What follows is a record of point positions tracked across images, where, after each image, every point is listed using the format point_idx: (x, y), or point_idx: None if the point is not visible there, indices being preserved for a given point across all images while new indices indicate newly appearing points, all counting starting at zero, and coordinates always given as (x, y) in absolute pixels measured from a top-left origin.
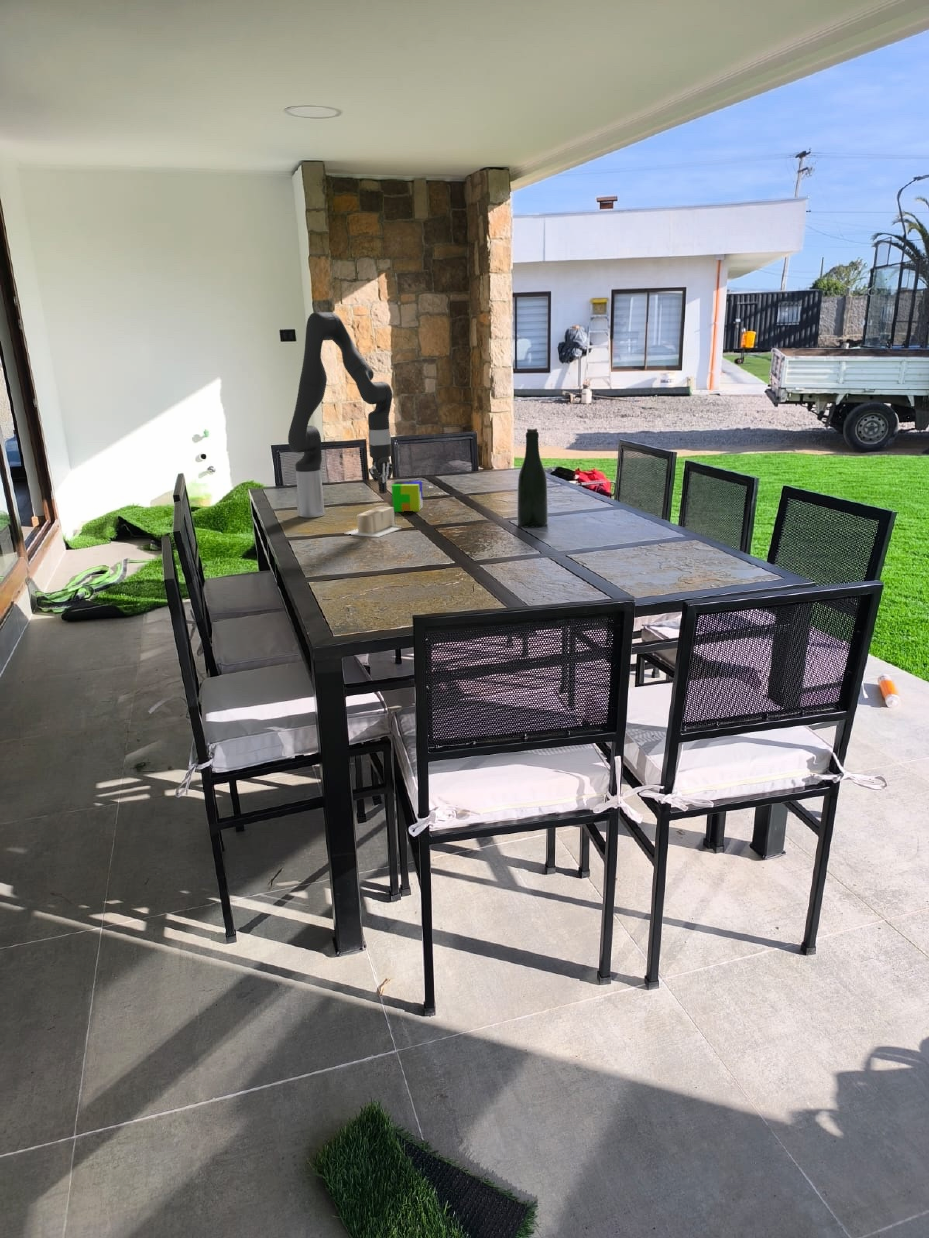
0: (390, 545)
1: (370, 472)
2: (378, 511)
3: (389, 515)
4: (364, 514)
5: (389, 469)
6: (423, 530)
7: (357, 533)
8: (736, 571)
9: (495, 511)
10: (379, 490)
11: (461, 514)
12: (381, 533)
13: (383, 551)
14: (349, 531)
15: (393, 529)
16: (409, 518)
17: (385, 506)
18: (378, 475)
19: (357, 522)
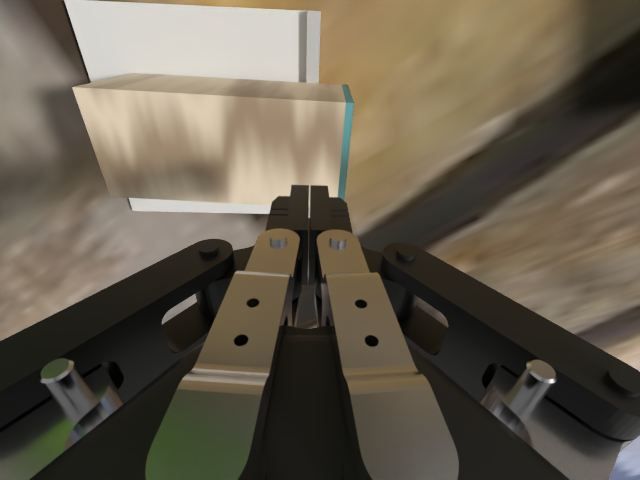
0: (84, 296)
1: (6, 364)
2: (220, 177)
3: None
4: (118, 133)
5: (474, 386)
6: (311, 287)
7: None
8: None
9: (626, 345)
10: (272, 208)
11: (590, 285)
12: None
13: (18, 312)
14: (113, 4)
15: None
16: (519, 137)
17: (346, 151)
18: (158, 367)
19: (103, 81)
